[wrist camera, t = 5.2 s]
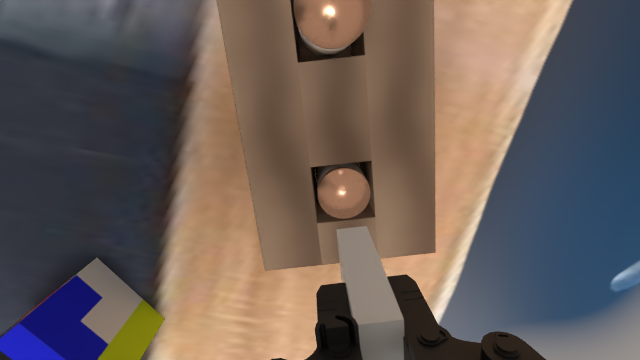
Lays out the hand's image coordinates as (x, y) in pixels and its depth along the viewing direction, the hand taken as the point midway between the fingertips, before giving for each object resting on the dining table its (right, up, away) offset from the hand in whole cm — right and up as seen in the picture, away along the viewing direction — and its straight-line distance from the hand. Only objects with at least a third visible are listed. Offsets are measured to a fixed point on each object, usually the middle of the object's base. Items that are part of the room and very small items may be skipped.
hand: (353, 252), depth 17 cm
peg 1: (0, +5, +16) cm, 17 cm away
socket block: (-1, +11, +15) cm, 18 cm away
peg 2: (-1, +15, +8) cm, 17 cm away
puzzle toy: (-26, -11, +21) cm, 36 cm away
